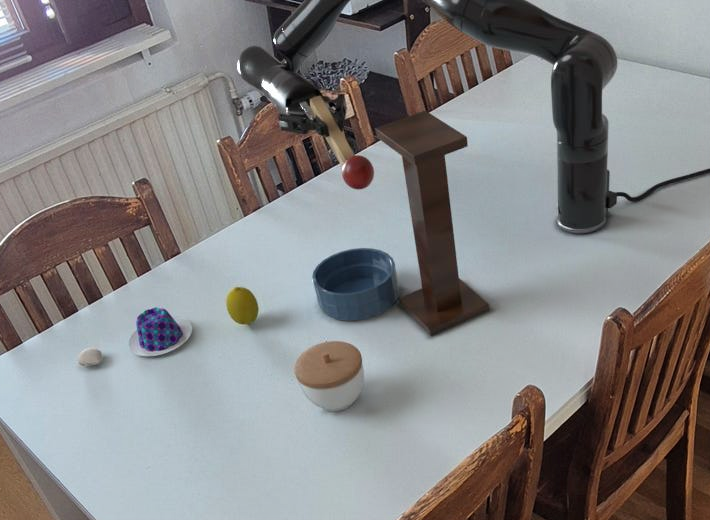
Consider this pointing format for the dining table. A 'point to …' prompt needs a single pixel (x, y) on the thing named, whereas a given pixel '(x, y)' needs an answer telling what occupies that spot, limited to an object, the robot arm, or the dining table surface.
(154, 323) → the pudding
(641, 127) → the dining table surface
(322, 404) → the trinket box
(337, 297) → the bowl
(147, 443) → the dining table surface
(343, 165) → the mallet
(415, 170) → the plant stand
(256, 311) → the lemon
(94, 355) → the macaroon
